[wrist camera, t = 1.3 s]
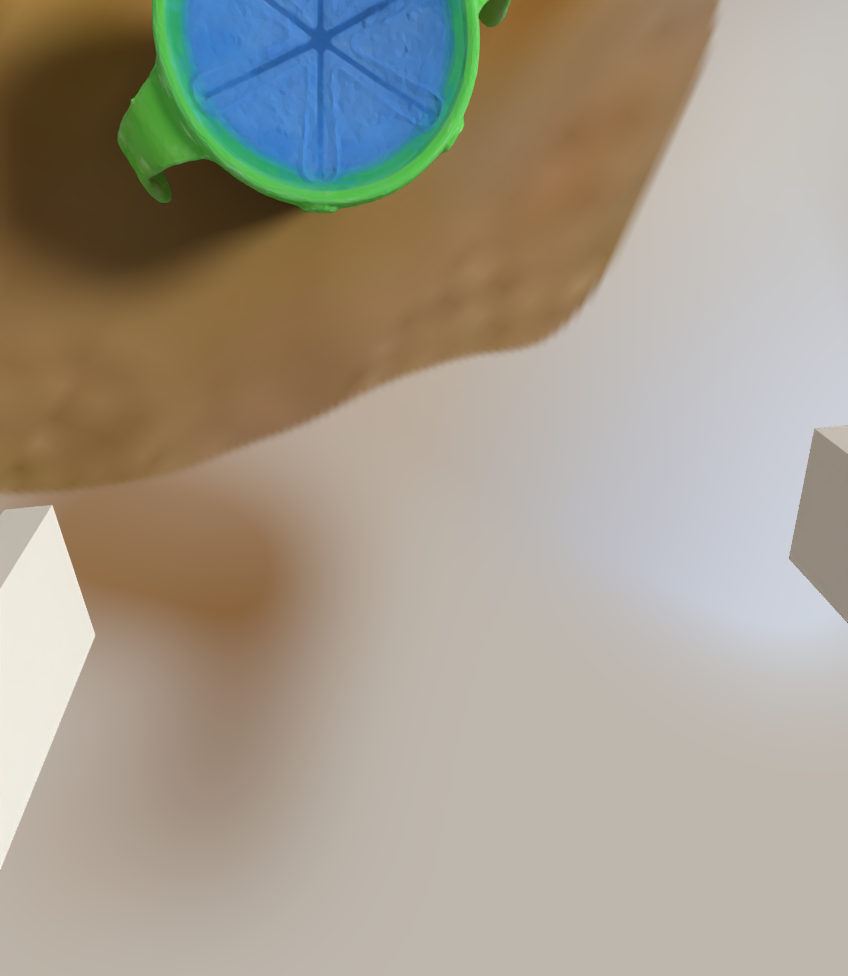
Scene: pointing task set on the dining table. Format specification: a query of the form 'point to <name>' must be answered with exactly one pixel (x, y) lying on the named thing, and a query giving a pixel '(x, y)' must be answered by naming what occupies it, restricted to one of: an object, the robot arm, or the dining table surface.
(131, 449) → the dining table surface
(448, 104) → the snack cup
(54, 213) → the dining table surface
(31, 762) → the robot arm
